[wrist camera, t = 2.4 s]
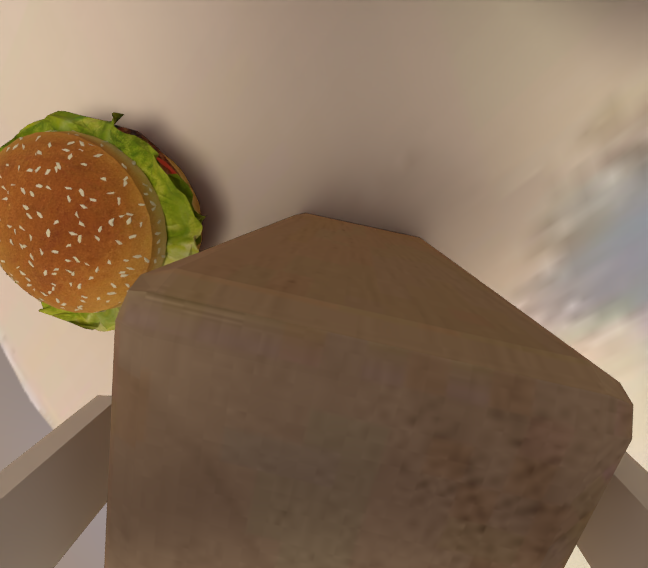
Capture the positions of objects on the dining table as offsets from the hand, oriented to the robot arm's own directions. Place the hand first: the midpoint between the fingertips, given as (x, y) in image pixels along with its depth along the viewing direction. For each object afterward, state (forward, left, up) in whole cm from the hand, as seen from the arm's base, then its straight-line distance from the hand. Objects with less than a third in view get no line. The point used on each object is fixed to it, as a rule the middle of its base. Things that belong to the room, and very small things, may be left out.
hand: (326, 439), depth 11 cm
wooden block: (0, 0, -16) cm, 16 cm away
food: (-5, -16, -17) cm, 23 cm away
